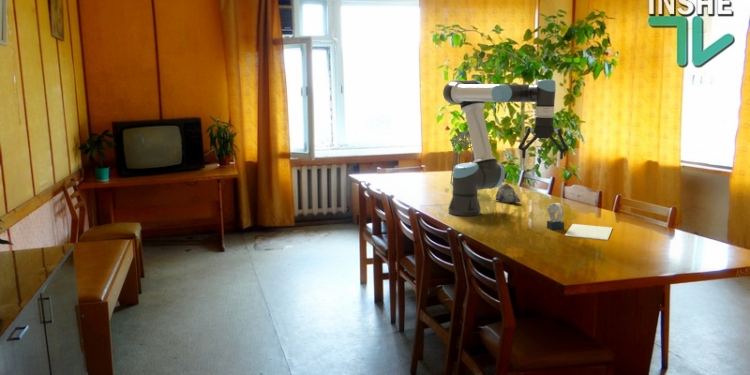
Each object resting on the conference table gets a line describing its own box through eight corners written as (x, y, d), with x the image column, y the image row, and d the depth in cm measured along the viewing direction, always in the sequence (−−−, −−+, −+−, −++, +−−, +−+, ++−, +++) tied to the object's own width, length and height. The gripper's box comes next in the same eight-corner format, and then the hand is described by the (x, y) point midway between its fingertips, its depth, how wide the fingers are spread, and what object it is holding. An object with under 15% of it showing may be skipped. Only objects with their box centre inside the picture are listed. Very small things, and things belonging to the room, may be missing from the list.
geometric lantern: (446, 190, 337) (449, 130, 332) (473, 190, 339) (475, 130, 334) (453, 195, 322) (456, 131, 317) (480, 195, 324) (484, 132, 318)
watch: (556, 226, 248) (557, 201, 246) (566, 230, 240) (567, 204, 238) (544, 226, 247) (545, 201, 245) (553, 231, 239) (555, 205, 237)
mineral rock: (521, 205, 294) (522, 185, 293) (500, 205, 294) (501, 185, 292) (514, 200, 307) (514, 181, 306) (494, 200, 307) (494, 181, 305)
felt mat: (564, 235, 231) (564, 234, 231) (572, 224, 251) (572, 223, 250) (607, 240, 224) (607, 239, 224) (612, 228, 243) (612, 227, 243)
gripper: (514, 116, 244) (512, 166, 247) (576, 117, 239) (573, 168, 243) (513, 115, 251) (511, 164, 254) (573, 116, 247) (570, 166, 250)
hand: (541, 166), depth 249 cm, fingers open, 13 cm apart
